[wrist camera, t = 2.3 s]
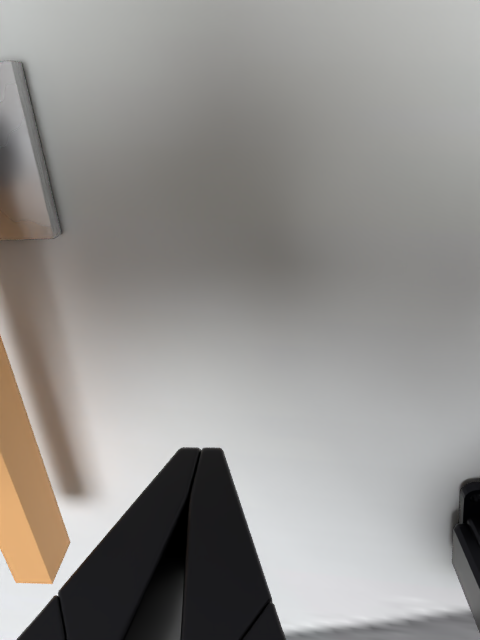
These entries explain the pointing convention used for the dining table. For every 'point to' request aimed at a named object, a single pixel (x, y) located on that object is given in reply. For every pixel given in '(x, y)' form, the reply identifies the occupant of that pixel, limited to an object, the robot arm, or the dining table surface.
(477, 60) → the dining table surface
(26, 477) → the bar
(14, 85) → the square metal plate
